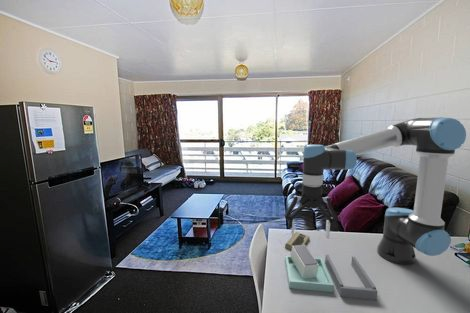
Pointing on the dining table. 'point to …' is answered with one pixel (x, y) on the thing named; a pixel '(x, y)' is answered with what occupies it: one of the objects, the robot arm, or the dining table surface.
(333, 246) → the dining table surface
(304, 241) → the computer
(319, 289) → the tray
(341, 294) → the tray
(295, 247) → the grey bevelled prism
